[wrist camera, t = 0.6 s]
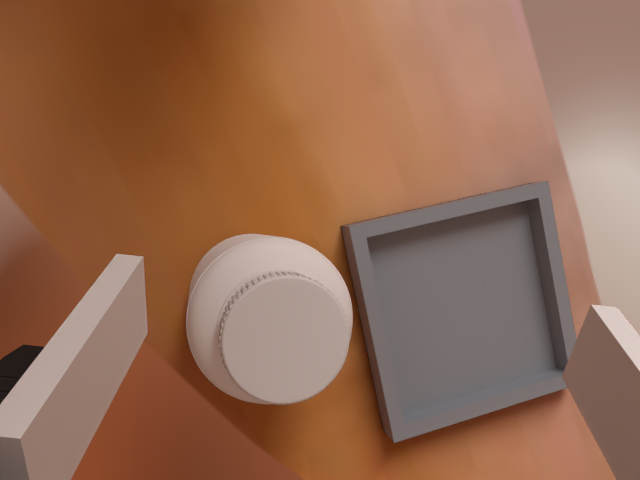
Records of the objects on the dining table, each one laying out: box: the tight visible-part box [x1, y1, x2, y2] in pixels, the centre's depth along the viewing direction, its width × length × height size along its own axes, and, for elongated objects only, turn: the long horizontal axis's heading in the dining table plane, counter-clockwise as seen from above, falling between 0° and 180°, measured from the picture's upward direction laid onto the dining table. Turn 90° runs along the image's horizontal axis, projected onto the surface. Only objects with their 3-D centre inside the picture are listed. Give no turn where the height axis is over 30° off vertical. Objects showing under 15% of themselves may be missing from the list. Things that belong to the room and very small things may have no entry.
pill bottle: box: [186, 234, 353, 405], centre depth 28 cm, size 8×8×15 cm
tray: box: [341, 181, 576, 443], centre depth 38 cm, size 15×15×2 cm
